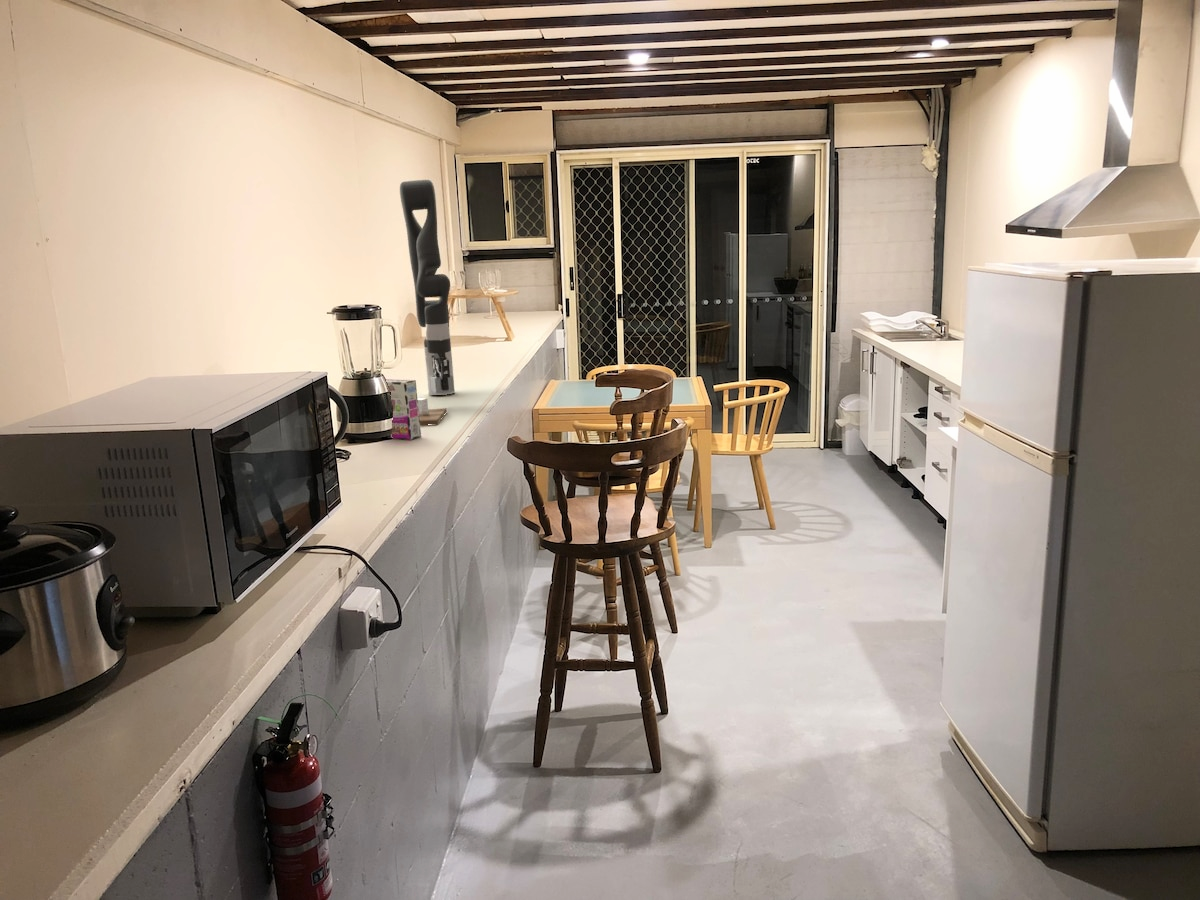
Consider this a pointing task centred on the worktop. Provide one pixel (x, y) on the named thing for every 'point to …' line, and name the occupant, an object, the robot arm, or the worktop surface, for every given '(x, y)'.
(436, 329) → the robot arm
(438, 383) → the hollow metal block
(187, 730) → the worktop surface
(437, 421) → the walnut base
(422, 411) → the square post
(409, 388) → the candy bar box
